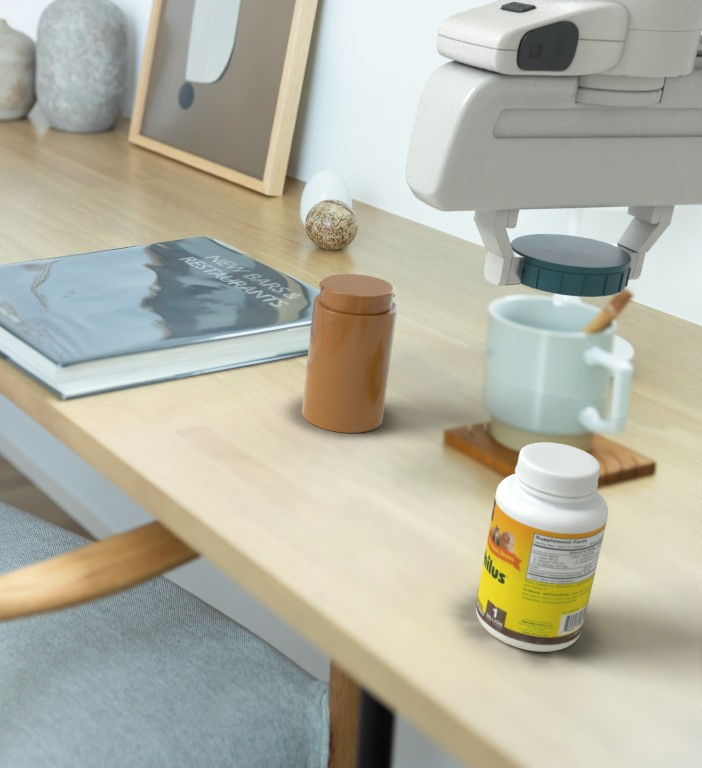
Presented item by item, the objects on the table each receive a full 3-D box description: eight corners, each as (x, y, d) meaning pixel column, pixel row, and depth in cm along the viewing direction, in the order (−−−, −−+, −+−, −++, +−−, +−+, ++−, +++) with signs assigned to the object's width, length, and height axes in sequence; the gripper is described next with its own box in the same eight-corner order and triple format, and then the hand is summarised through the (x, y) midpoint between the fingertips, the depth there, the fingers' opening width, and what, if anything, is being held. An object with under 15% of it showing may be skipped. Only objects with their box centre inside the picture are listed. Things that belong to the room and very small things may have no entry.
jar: (371, 400, 91) (387, 272, 87) (391, 433, 86) (410, 299, 82) (295, 399, 91) (308, 271, 87) (310, 432, 85) (325, 297, 81)
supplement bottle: (469, 591, 67) (499, 428, 63) (572, 605, 66) (608, 441, 62) (476, 648, 61) (508, 475, 57) (587, 664, 61) (627, 490, 57)
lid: (488, 279, 67) (493, 250, 66) (528, 254, 72) (533, 227, 71) (606, 305, 63) (612, 276, 63) (639, 277, 68) (645, 249, 67)
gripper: (730, 28, 68) (675, 257, 73) (411, 22, 63) (377, 269, 68) (815, 43, 62) (748, 290, 68) (473, 37, 57) (431, 305, 62)
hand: (560, 280), depth 68 cm, fingers closed on lid, 6 cm apart
